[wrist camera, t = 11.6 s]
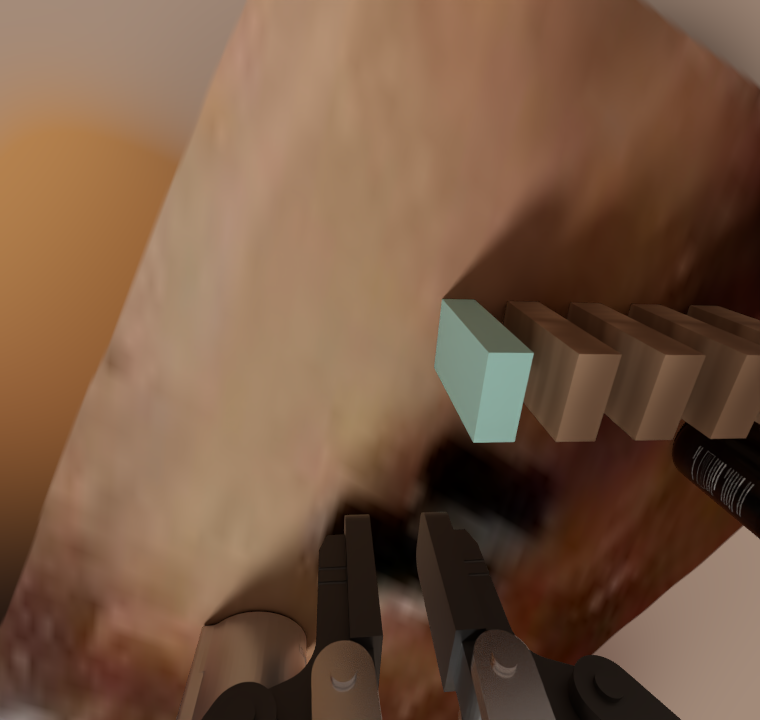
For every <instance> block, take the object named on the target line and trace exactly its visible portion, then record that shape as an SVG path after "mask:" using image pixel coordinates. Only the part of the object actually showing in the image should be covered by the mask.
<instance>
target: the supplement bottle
mask: <svg viewBox="0 0 760 720" xmlns="http://www.w3.org/2000/svg"><path fill="white" fill-rule="evenodd" d="M672 458H673V462H674V464H675V466H676V468H677V469H678V470H679V471H680V472H681V473H682V474H683V475H684V476H685V477H686V478H688V479H689V480H690V481H691V482H692V483H693V484H695V485H696V486H697V487H698V488H699V489H701V490H702V491H703V492H704V493H705V494H707V495H708V496H709V497H710V498H711V499H713V500H714V501H715V502H716V503H717V504H718V505H720V506H721V507H722V508H723V509H724V510H726V511H727V512H728V513H729V514H730V515H732V516H733V517H734V518H735V519H736V520H738V521H739V522H740V523H741V524H742V525H744V526H745V527H746V528H747V529H748V530H750V531H751V532H752V533H753V534H754V535H756V536H757V537H758V538H759V539H760V424H759V423H757V422H755V421H754V423H753V425H752V427H751V429H750V431H749V433H748V435H747V437H746V438H733V439H710V438H708V437H707V436H705V435H704V434H703V433H701V432H700V431H698V430H697V429H696V428H694V427H693V426H691V425H690V424H687V425H686V426H685V427H684V428H683V429H682V430H681V431H680V433H679V434H678V436H677V438H676V440H675V442H674V445H673V449H672Z"/></svg>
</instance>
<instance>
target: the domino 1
mask: <svg viewBox="0 0 760 720" xmlns="http://www.w3.org/2000/svg"><path fill="white" fill-rule="evenodd" d="M533 355H534V353H533V352H532V351H531V350H530V349H529V348H528V347H527V346H526V345H524V344H523V343H522V342H521V341H520V340H519V339H518V338H517V337H516V336H514V335H513V334H512V333H511V332H510V331H509V330H508V329H507V328H506V327H504V326H503V325H502V324H501V323H500V322H499V321H498V320H497V319H496V318H494V317H493V316H492V315H491V314H490V313H489V312H488V311H487V310H486V309H484V308H483V307H482V306H481V305H480V304H479V303H478V302H477V301H476V300H471V299H442V305H441V313H440V322H439V331H438V339H437V348H436V357H435V365H434V368H435V370H436V372H437V374H438V376H439V378H440V380H441V382H442V384H443V386H444V387H445V389H446V391H447V393H448V395H449V397H450V399H451V401H452V403H453V405H454V407H455V409H456V410H457V412H458V414H459V416H460V418H461V420H462V422H463V424H464V426H465V428H466V430H467V432H468V433H469V435H470V437H471V439H472V441H473V443H484V442H515V437H516V433H517V428H518V424H519V419H520V414H521V410H522V405H523V401H524V396H525V391H526V387H527V382H528V378H529V373H530V368H531V364H532V359H533Z"/></svg>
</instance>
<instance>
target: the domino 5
mask: <svg viewBox="0 0 760 720" xmlns="http://www.w3.org/2000/svg"><path fill="white" fill-rule="evenodd" d="M687 316H690V317H692V318H695V319H697V320H700V321H702V322H705V323H707V324H709V325H712V326H714V327H717V328H719V329H722V330H724V331H727V332H729V333H732V334H734V335H736V336H739V337H741V338H744V339H746V340H749V341H751V342H754V343H756V344H759V345H760V320H757V319H754V318H751V317H748V316H746V315H743V314H740V313H737V312H734V311H731V310H728V309H726V308H723V307H720V306H703V305H690V307H689V310H688V312H687ZM755 422H757V423H759V424H760V410H759V412H758V414H757V416H756V418H755Z"/></svg>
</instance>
